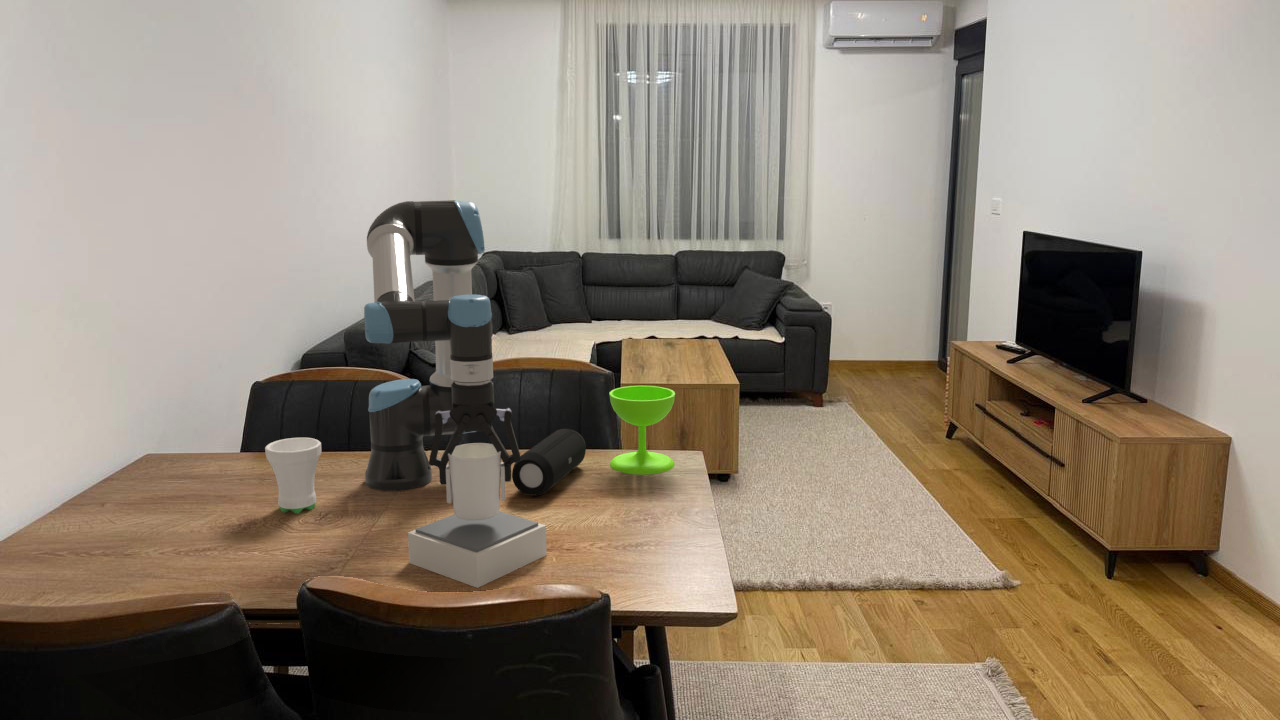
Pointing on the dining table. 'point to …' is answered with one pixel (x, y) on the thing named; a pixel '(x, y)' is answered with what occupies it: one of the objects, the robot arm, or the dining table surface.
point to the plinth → (477, 547)
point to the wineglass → (642, 426)
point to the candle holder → (475, 480)
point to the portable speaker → (548, 462)
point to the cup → (295, 471)
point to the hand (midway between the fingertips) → (476, 499)
